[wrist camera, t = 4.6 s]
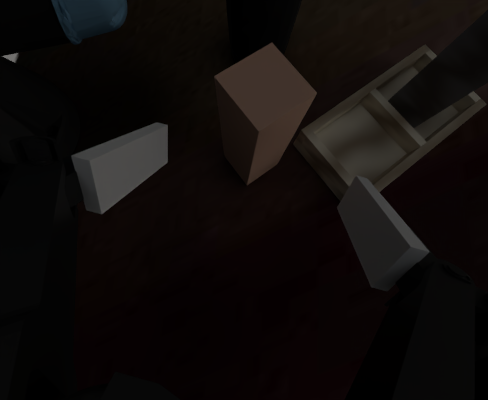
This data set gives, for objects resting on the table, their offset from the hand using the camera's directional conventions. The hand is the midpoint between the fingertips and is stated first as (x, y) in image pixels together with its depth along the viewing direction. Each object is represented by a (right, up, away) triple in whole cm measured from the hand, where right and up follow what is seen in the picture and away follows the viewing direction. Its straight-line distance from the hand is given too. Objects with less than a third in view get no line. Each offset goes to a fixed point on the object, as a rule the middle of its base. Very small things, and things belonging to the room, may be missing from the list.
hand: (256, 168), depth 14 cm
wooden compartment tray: (+18, +7, +14) cm, 24 cm away
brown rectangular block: (0, +3, +12) cm, 13 cm away
